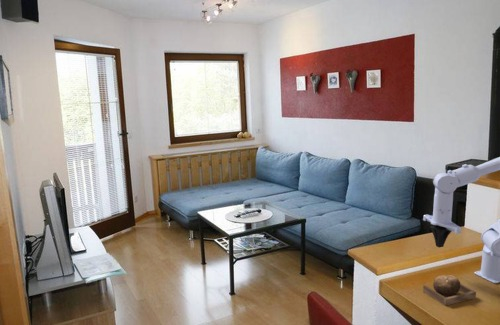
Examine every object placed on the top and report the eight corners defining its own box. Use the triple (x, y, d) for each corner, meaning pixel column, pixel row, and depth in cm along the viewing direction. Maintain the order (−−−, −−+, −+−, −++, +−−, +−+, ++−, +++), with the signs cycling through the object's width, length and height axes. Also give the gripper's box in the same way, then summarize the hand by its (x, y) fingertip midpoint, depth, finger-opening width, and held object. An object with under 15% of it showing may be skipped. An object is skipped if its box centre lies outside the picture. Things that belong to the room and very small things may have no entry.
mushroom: (460, 278, 127) (453, 266, 125) (468, 299, 121) (460, 287, 118) (435, 285, 130) (427, 274, 128) (441, 306, 124) (434, 294, 121)
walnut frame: (451, 284, 130) (452, 278, 130) (475, 297, 122) (476, 291, 121) (423, 291, 126) (423, 285, 125) (445, 305, 118) (445, 299, 117)
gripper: (417, 204, 139) (415, 240, 141) (451, 216, 125) (447, 256, 128) (433, 201, 141) (430, 237, 144) (467, 213, 128) (464, 253, 130)
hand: (439, 246), depth 136 cm, fingers closed
